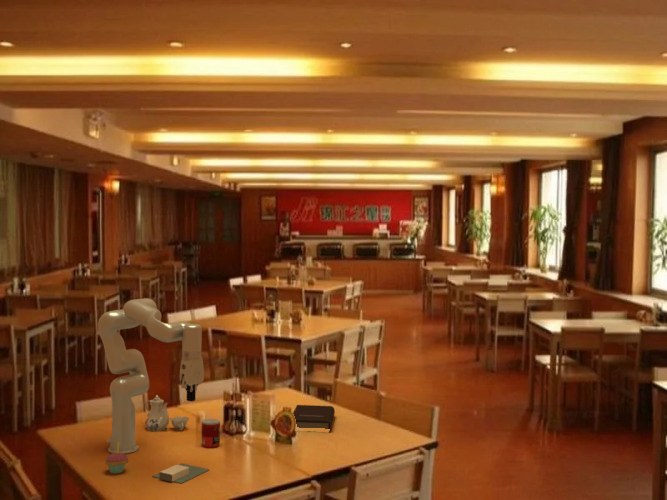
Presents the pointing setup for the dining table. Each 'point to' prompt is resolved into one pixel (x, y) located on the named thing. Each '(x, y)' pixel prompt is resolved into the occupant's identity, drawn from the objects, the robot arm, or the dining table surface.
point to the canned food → (210, 433)
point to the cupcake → (116, 461)
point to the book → (314, 416)
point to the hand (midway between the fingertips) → (190, 400)
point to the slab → (173, 473)
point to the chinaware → (162, 417)
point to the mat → (192, 474)
